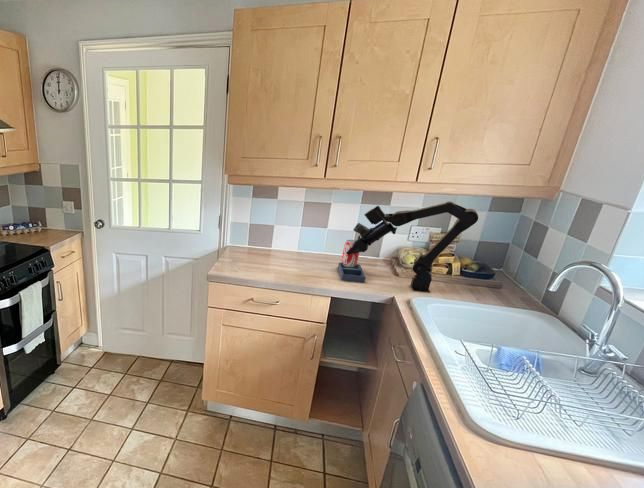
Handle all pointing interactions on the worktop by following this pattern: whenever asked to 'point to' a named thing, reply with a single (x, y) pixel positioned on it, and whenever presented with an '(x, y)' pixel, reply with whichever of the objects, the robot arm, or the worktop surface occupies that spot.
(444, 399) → the worktop surface
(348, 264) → the soda can
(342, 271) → the can rack
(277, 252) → the worktop surface
